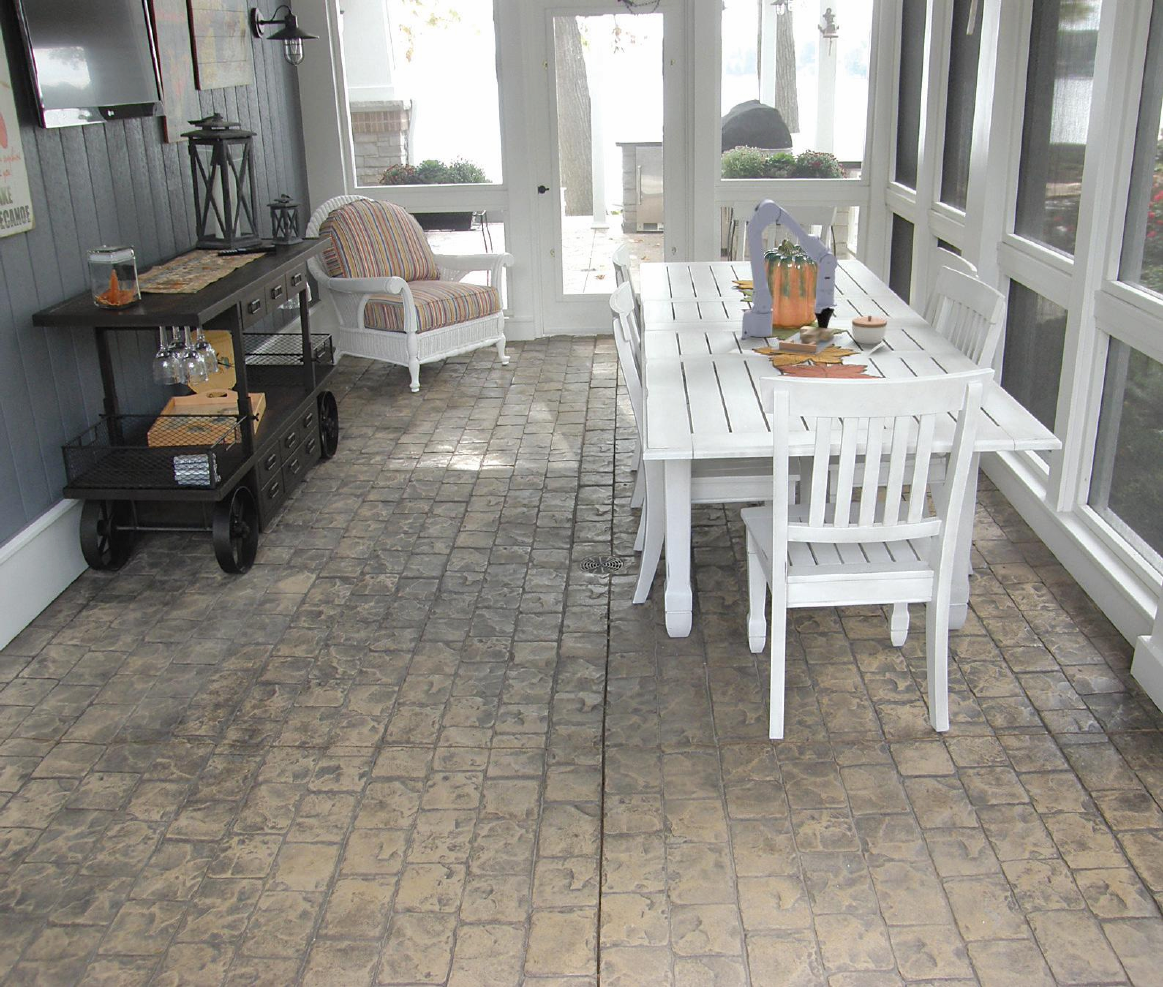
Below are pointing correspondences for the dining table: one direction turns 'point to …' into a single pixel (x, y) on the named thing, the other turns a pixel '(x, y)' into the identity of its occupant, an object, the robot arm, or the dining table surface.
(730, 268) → the dining table surface
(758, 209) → the robot arm
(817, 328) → the t block
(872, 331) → the lidded jar
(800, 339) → the board
